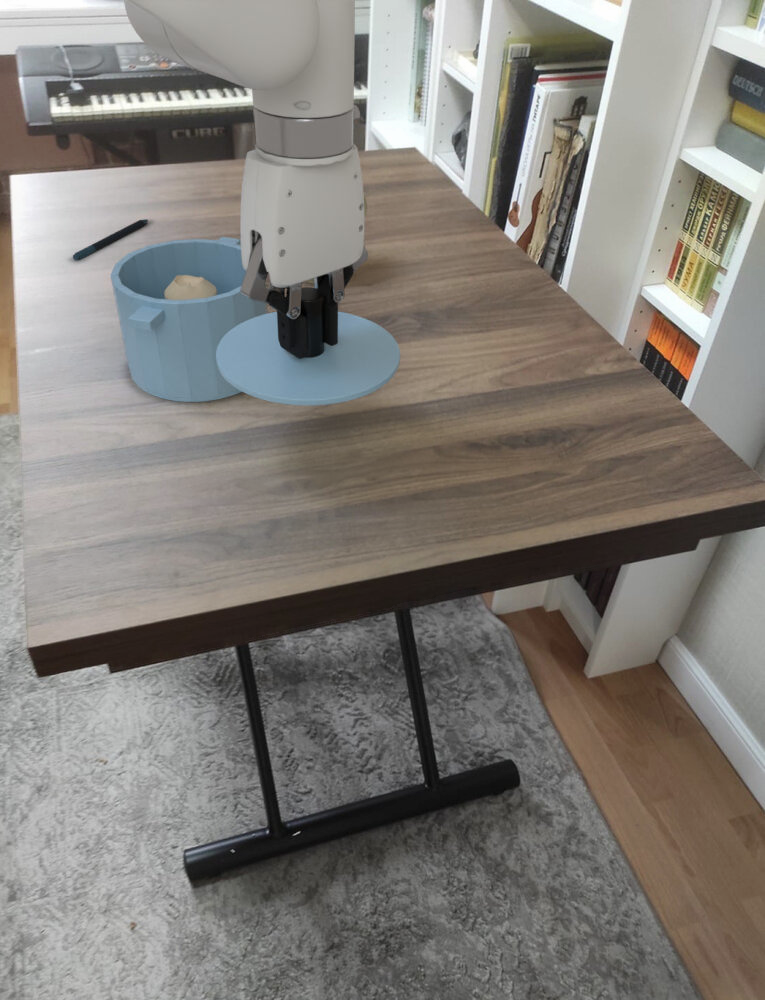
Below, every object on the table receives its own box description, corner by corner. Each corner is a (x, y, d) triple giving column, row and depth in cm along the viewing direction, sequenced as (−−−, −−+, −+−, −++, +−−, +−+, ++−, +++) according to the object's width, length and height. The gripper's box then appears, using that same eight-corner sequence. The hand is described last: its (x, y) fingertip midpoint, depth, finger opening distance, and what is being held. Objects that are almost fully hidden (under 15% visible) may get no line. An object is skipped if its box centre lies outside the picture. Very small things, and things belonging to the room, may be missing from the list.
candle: (229, 350, 96) (220, 268, 90) (217, 375, 92) (207, 291, 86) (182, 347, 97) (170, 265, 90) (168, 371, 92) (155, 288, 86)
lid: (184, 390, 72) (175, 319, 67) (261, 308, 84) (257, 244, 80) (368, 427, 68) (370, 355, 64) (419, 336, 81) (424, 271, 77)
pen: (151, 224, 126) (150, 216, 125) (78, 262, 115) (76, 254, 114) (145, 223, 126) (144, 215, 126) (72, 261, 115) (70, 252, 115)
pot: (89, 400, 89) (65, 300, 81) (181, 312, 104) (168, 222, 97) (224, 427, 85) (212, 326, 78) (298, 332, 101) (294, 241, 94)
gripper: (351, 104, 70) (349, 305, 82) (185, 138, 61) (209, 358, 73) (414, 125, 66) (402, 334, 78) (246, 164, 57) (260, 394, 69)
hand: (308, 344), depth 75 cm, fingers closed on lid, 2 cm apart
